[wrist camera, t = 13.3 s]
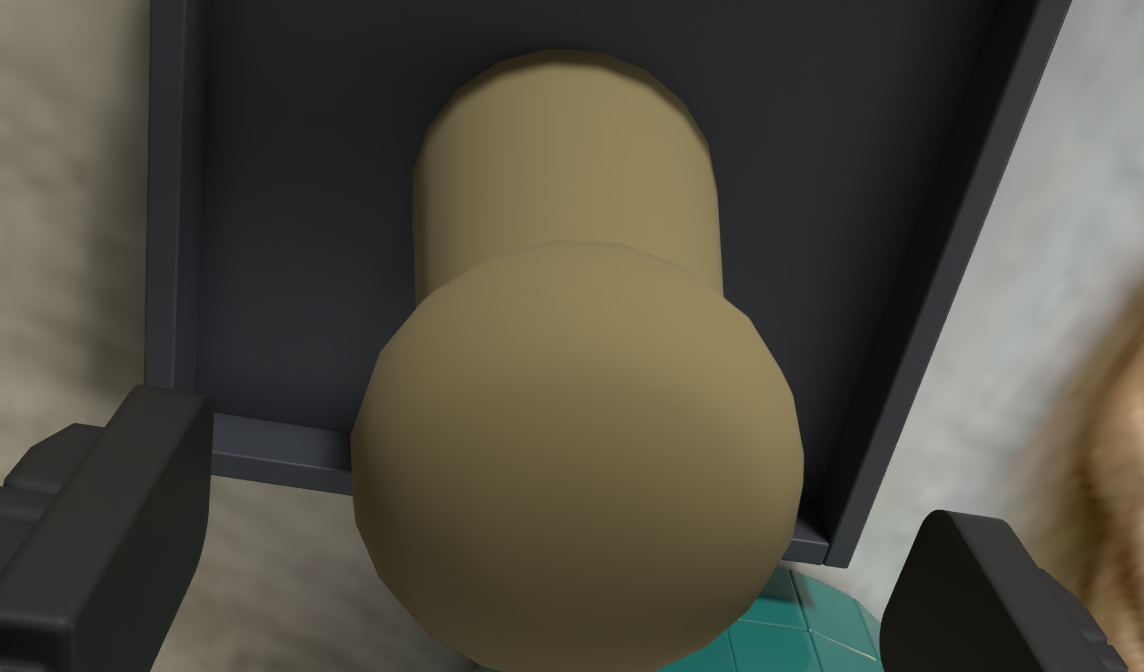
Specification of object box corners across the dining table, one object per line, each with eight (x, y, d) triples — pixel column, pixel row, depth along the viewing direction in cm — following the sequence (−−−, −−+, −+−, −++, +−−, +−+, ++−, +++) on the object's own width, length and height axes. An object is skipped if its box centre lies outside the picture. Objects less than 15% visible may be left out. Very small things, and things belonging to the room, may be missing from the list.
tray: (173, 415, 23) (141, 465, 21) (194, -255, 17) (152, -264, 15) (826, 516, 24) (848, 570, 23) (1043, -68, 19) (1096, -56, 17)
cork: (437, 14, 19) (315, 225, 9) (755, 86, 19) (971, 355, 10) (390, 310, 21) (254, 728, 11) (672, 364, 22) (773, 800, 12)
